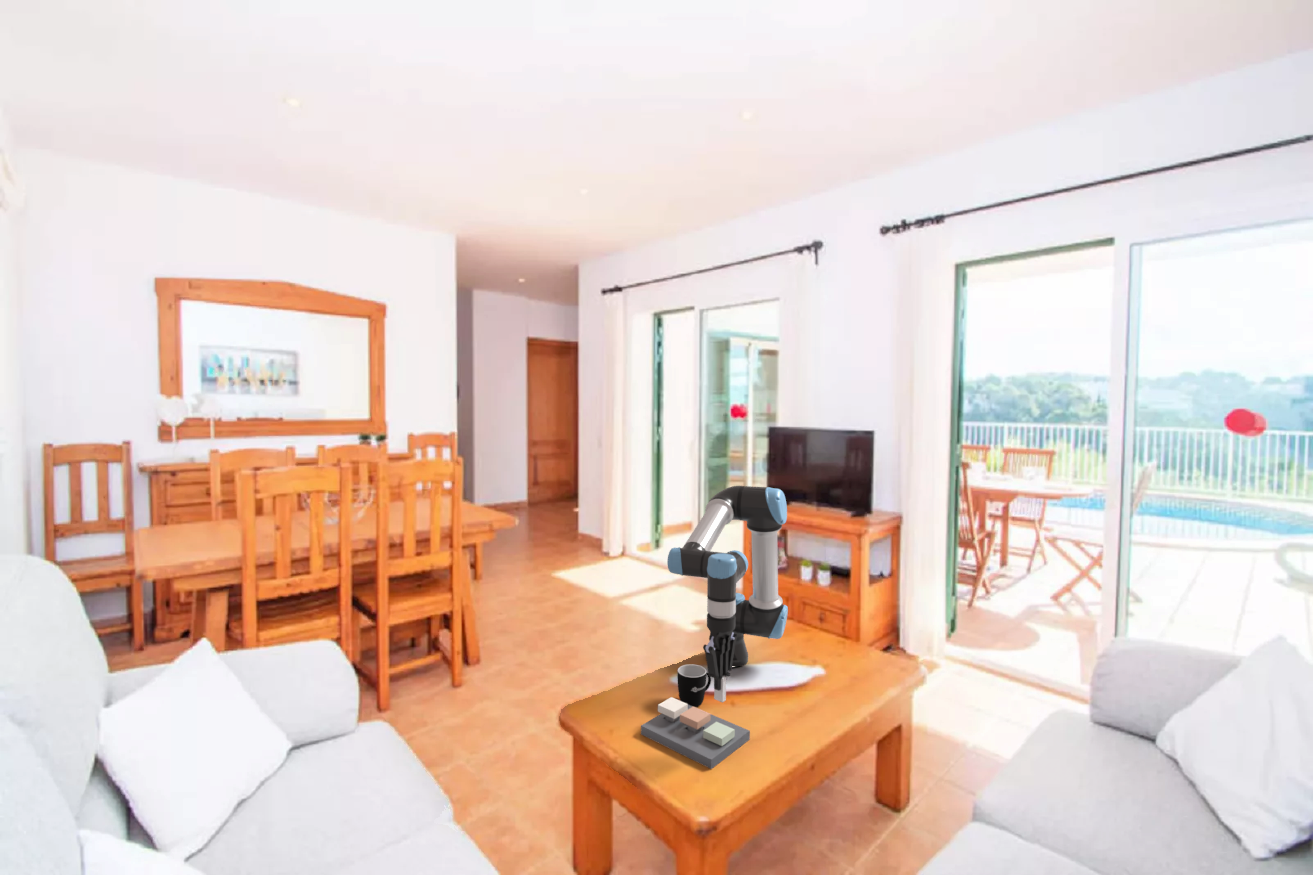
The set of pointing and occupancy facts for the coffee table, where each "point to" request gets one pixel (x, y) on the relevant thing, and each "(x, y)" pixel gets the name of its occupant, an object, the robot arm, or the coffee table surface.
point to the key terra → (695, 719)
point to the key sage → (719, 733)
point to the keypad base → (694, 739)
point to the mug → (692, 684)
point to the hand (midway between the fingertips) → (719, 699)
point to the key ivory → (672, 709)
